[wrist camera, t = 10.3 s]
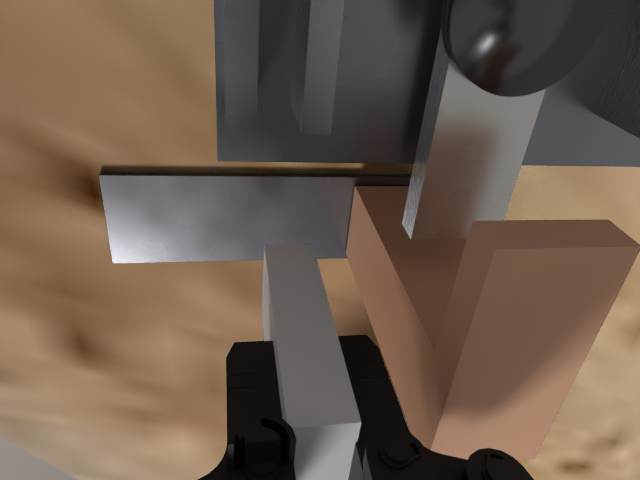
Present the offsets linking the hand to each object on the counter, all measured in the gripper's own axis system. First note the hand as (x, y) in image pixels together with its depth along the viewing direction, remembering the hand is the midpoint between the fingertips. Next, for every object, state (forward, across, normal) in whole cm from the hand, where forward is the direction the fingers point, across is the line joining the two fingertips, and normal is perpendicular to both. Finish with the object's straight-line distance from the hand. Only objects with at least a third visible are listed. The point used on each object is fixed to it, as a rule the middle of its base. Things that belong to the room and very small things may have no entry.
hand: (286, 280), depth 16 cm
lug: (+4, +4, +2) cm, 6 cm away
